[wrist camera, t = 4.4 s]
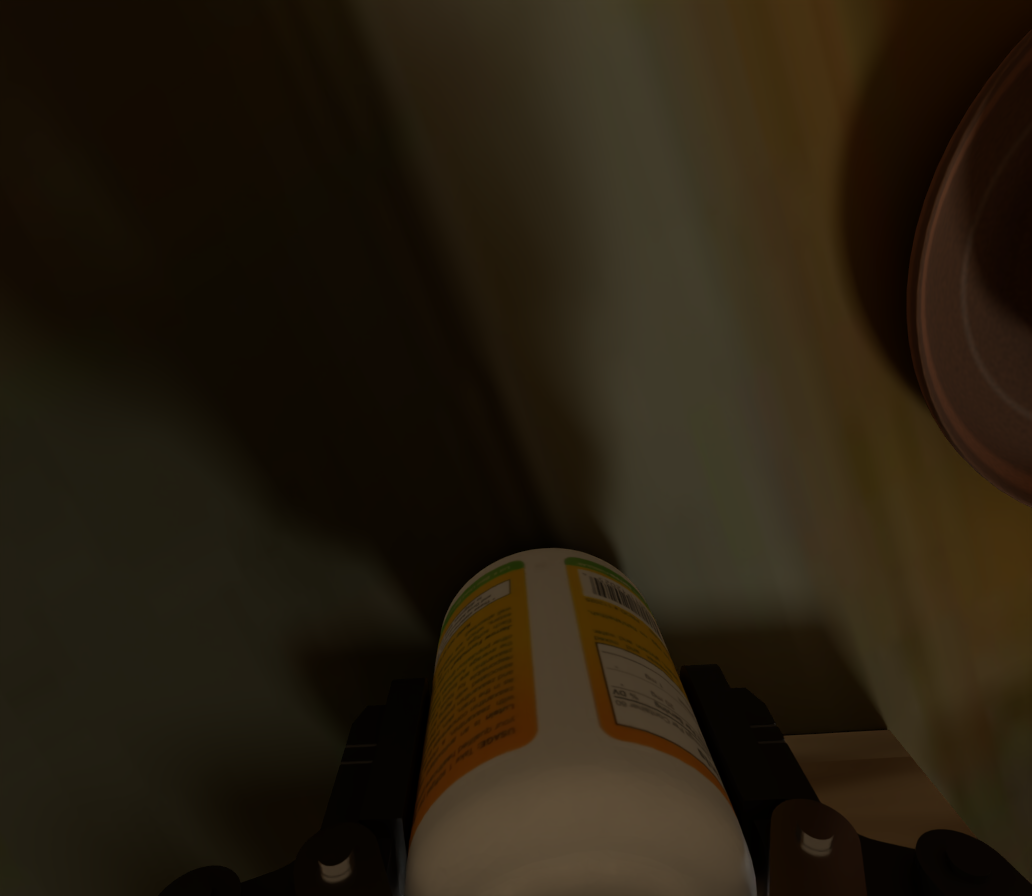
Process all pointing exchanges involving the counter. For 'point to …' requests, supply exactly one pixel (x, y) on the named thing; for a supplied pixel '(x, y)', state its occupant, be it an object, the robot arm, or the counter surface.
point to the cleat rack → (874, 785)
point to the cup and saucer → (980, 282)
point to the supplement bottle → (565, 747)
